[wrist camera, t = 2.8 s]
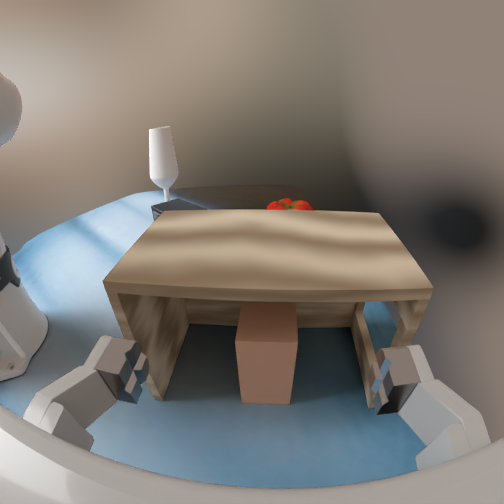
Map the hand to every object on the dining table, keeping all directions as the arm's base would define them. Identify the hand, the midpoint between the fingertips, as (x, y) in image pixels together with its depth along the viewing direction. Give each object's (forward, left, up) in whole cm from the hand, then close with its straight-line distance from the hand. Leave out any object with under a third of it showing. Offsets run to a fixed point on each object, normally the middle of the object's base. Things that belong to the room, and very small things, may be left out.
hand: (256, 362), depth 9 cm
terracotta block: (+9, +8, -19) cm, 23 cm away
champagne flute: (+25, +54, -19) cm, 63 cm away
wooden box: (+12, +10, -19) cm, 25 cm away
